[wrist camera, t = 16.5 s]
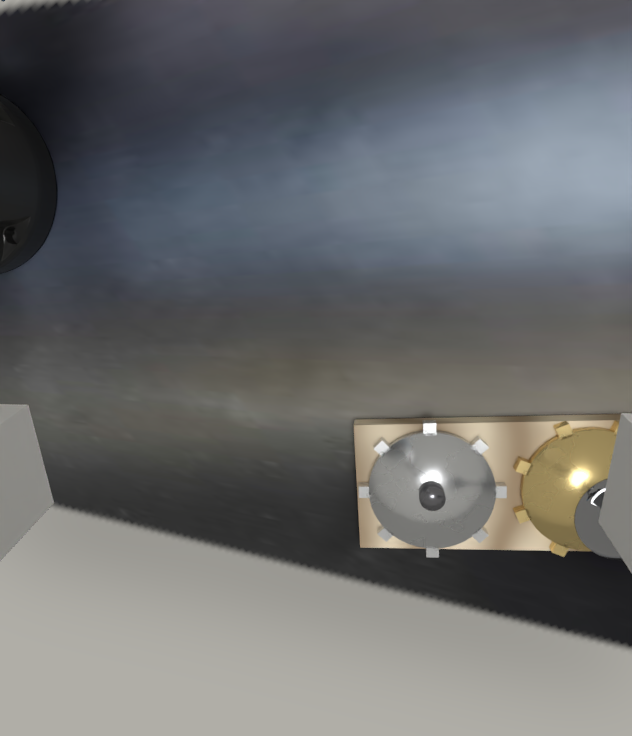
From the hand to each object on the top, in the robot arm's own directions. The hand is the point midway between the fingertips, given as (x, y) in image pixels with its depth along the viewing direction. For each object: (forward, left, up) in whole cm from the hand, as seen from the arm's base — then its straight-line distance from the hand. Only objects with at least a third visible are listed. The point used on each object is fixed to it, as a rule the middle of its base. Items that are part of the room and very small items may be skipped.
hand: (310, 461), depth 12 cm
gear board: (+11, -14, -30) cm, 35 cm away
